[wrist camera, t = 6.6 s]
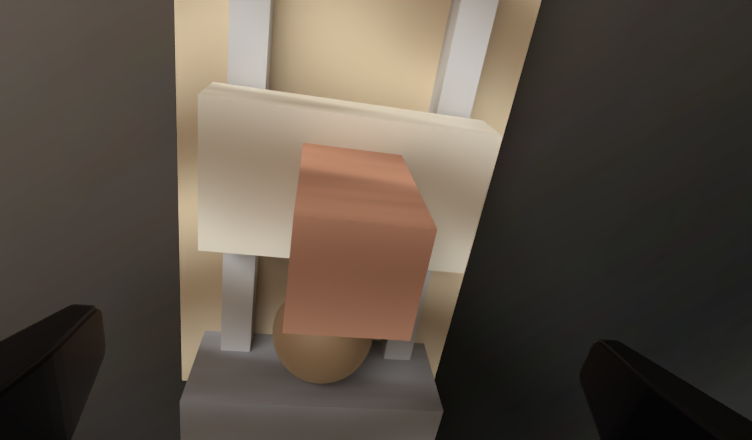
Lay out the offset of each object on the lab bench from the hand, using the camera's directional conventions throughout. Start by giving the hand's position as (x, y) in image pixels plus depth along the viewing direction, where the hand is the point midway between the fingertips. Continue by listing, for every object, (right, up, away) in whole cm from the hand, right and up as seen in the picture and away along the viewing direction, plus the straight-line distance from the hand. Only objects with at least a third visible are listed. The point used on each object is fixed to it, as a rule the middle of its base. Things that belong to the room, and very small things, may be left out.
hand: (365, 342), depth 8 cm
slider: (-1, +4, +8) cm, 9 cm away
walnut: (-2, -1, +12) cm, 12 cm away
